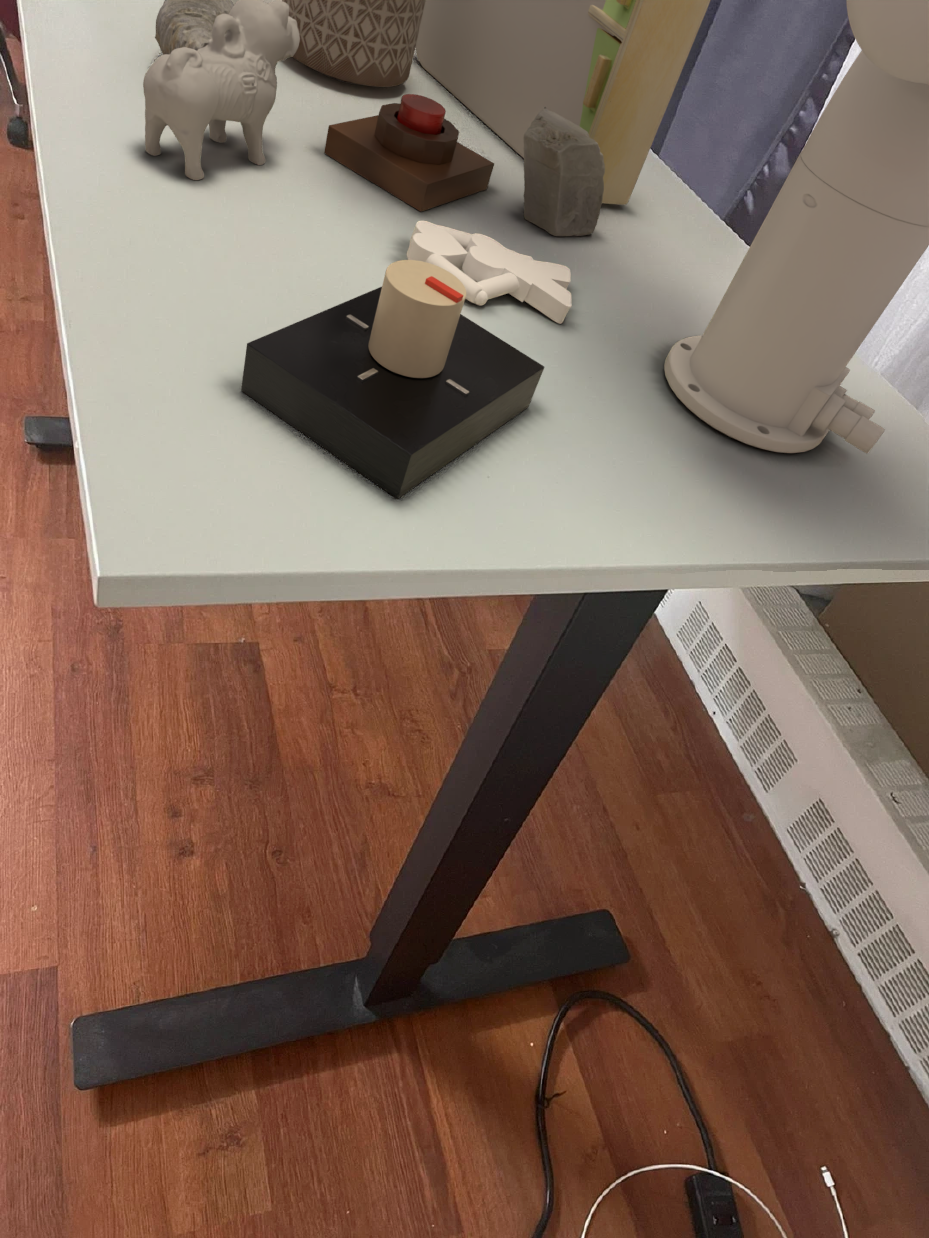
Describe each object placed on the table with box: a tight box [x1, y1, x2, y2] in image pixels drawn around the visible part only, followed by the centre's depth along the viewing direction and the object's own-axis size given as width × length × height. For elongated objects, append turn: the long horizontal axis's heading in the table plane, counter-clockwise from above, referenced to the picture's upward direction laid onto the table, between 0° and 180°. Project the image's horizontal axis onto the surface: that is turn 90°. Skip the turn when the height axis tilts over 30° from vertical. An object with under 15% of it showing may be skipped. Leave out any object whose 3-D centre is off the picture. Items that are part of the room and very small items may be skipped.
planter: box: [281, 0, 426, 88], centre depth 83 cm, size 13×13×10 cm
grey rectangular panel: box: [415, 0, 614, 159], centre depth 84 cm, size 29×8×18 cm, turn 32°
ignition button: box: [397, 93, 447, 135], centre depth 72 cm, size 4×4×2 cm
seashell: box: [154, 0, 235, 55], centre depth 74 cm, size 6×14×8 cm, turn 5°
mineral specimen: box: [523, 107, 605, 237], centre depth 73 cm, size 7×9×8 cm
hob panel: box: [240, 286, 545, 499], centre depth 52 cm, size 14×11×3 cm
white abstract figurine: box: [406, 220, 573, 325], centre depth 65 cm, size 9×12×2 cm
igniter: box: [323, 102, 495, 212], centre depth 74 cm, size 10×10×4 cm
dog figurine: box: [142, 0, 300, 181], centre depth 64 cm, size 5×13×11 cm, turn 149°
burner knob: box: [368, 259, 466, 378], centre depth 49 cm, size 4×4×5 cm
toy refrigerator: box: [580, 0, 711, 206], centre depth 76 cm, size 8×7×21 cm
